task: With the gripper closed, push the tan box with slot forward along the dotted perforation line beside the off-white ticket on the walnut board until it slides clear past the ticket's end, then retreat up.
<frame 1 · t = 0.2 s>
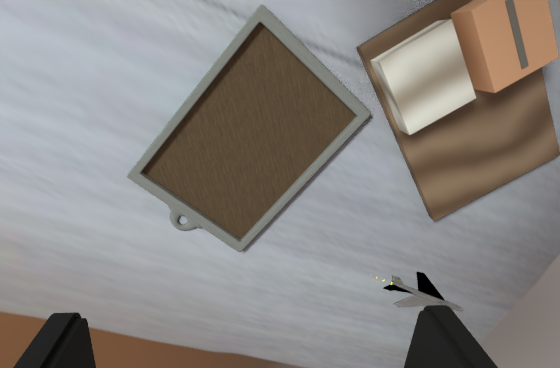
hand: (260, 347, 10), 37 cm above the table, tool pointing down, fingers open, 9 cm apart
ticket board: (460, 98, 46), on the table
toy airplane: (415, 290, 59), on the table
framed hanging board: (242, 148, 46), on the table
tan box with slot: (504, 35, 40), point 4 cm above the table, slide at 0.0 cm
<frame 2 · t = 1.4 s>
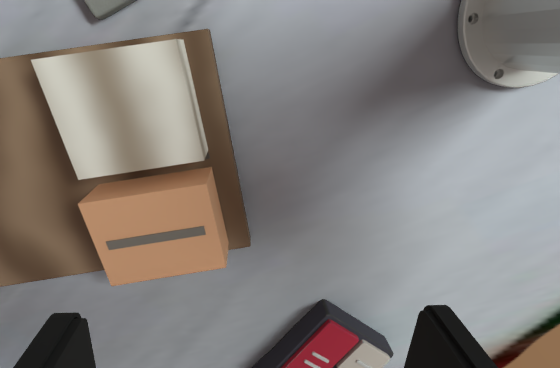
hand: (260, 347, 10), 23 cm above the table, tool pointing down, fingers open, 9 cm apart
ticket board: (92, 168, 31), on the table
tan box with slot: (162, 225, 30), point 4 cm above the table, slide at 0.0 cm
red black flat box: (314, 352, 43), on the table
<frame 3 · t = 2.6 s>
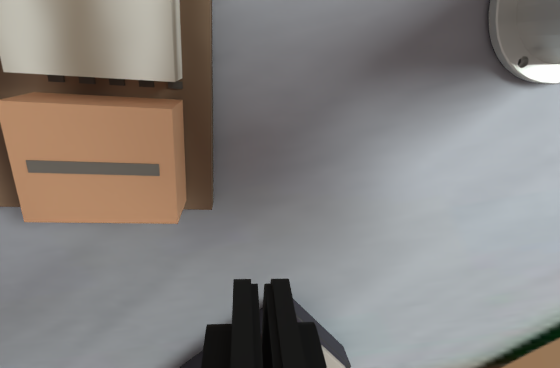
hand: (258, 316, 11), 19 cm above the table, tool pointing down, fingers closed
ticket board: (30, 74, 25), on the table
tan box with slot: (106, 158, 24), point 4 cm above the table, slide at 0.0 cm
red black flat box: (263, 353, 38), on the table
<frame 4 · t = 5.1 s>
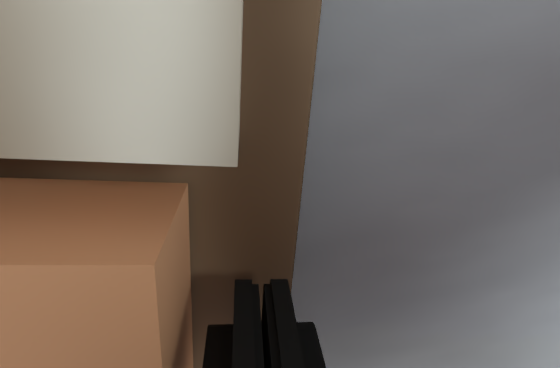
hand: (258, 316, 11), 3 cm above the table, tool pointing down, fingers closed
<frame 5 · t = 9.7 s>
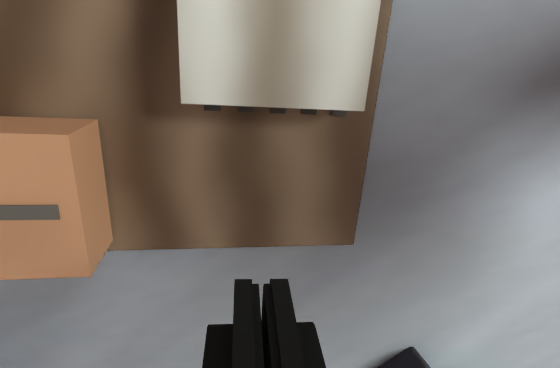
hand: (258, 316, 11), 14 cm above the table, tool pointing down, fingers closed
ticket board: (173, 100, 22), on the table
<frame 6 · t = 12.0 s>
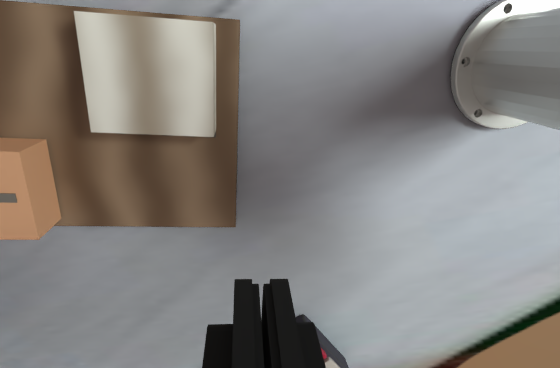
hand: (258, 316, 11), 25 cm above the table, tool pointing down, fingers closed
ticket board: (100, 125, 32), on the table
red black flat box: (280, 360, 47), on the table
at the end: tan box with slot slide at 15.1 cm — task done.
